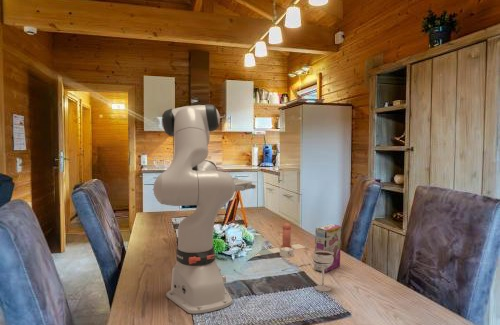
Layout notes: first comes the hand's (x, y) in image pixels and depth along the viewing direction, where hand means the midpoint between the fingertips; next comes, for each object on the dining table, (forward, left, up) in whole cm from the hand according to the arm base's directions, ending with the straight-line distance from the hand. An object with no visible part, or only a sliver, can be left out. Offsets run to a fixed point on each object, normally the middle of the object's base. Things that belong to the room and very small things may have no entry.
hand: (249, 187), depth 155 cm
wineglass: (-51, 0, -28) cm, 58 cm away
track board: (-12, -7, -28) cm, 31 cm away
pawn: (-12, -13, -27) cm, 32 cm away
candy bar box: (-38, -14, -28) cm, 49 cm away
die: (-21, -7, -28) cm, 36 cm away
